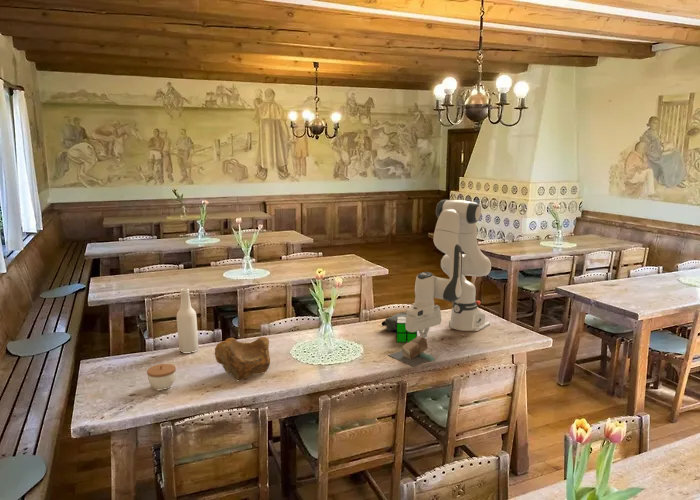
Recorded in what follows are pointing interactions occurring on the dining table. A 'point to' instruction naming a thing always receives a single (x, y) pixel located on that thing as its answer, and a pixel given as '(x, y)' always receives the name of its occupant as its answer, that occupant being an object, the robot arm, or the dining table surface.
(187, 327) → the alcohol
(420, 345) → the walnut block
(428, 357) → the rail
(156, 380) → the lidded jar
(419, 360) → the mat
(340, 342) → the dining table surface
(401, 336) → the puzzle cube
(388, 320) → the grey rounded lump
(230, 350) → the rough brown rock
